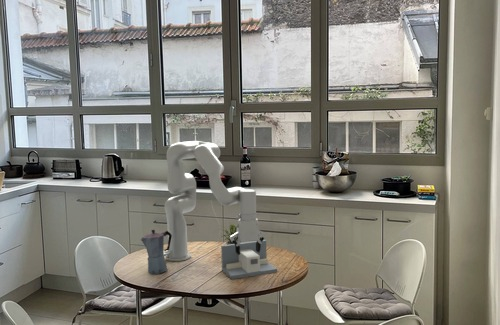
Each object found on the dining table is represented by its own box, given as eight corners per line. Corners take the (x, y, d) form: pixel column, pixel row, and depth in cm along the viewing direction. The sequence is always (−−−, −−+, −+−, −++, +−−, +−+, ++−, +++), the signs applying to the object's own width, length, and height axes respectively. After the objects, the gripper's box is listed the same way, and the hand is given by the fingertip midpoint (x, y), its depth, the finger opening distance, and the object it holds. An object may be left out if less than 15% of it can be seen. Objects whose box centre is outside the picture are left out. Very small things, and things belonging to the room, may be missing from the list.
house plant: (215, 251, 250) (214, 221, 248) (240, 248, 254) (239, 218, 252) (222, 259, 236) (221, 227, 235) (248, 255, 241) (247, 224, 239)
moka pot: (138, 272, 220) (136, 230, 218) (167, 264, 230) (165, 224, 228) (148, 277, 213) (145, 234, 211) (177, 269, 223) (175, 227, 220)
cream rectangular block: (248, 273, 210) (248, 258, 209) (238, 265, 222) (238, 250, 221) (261, 271, 212) (260, 256, 211) (250, 263, 224) (250, 248, 223)
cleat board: (231, 279, 208) (230, 253, 206) (222, 269, 221) (221, 245, 219) (277, 271, 215) (276, 247, 214) (265, 263, 228) (265, 239, 227)
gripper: (232, 219, 208) (232, 257, 210) (268, 216, 214) (268, 253, 216) (227, 216, 215) (227, 252, 217) (262, 212, 221) (262, 248, 223)
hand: (248, 252), depth 217 cm, fingers open, 9 cm apart
